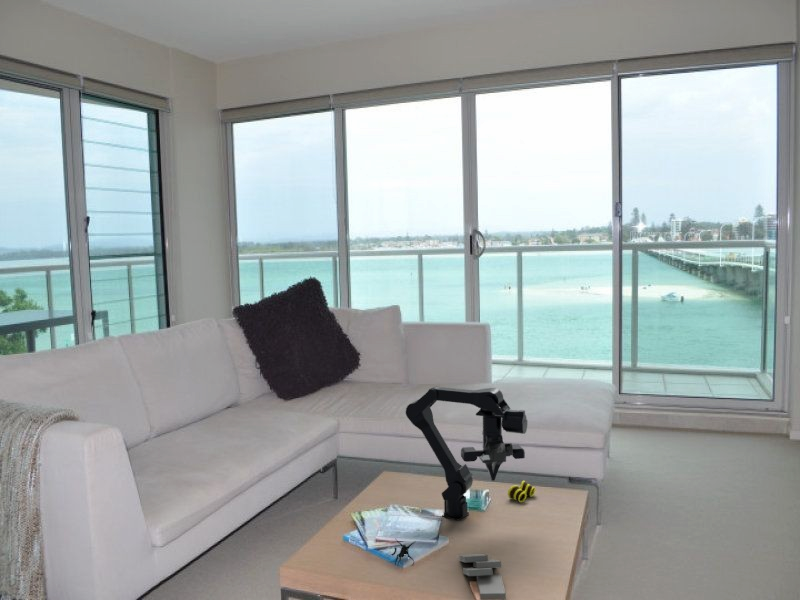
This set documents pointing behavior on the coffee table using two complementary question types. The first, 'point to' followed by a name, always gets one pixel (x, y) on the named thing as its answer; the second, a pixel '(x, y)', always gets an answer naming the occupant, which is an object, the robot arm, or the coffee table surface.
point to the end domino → (477, 591)
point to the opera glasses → (521, 492)
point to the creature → (402, 551)
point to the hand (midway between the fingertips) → (492, 480)
